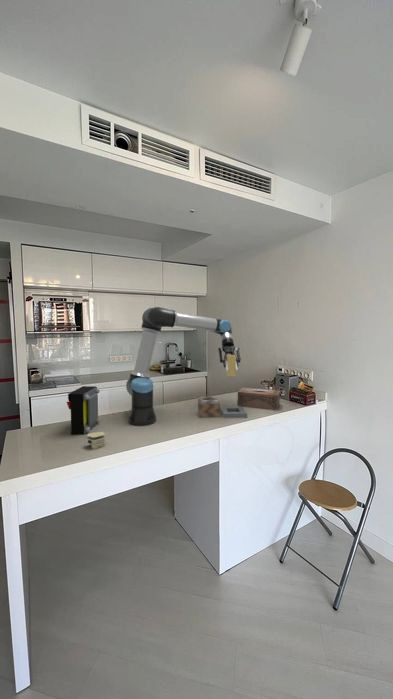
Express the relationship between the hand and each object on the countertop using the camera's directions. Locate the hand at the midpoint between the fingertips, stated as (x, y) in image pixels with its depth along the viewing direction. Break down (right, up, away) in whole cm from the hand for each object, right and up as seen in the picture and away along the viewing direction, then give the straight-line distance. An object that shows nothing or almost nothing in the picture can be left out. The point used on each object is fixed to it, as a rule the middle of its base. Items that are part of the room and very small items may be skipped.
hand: (231, 371), depth 170 cm
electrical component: (-78, -28, -21) cm, 86 cm away
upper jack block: (-14, -26, +5) cm, 30 cm away
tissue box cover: (+21, -26, +26) cm, 42 cm away
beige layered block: (-65, -30, -43) cm, 83 cm away
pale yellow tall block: (0, -3, +4) cm, 5 cm away
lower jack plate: (+1, -27, +6) cm, 27 cm away
